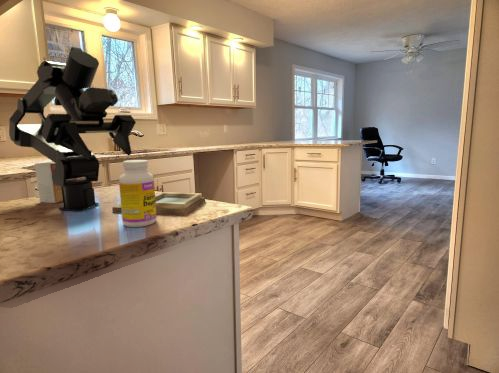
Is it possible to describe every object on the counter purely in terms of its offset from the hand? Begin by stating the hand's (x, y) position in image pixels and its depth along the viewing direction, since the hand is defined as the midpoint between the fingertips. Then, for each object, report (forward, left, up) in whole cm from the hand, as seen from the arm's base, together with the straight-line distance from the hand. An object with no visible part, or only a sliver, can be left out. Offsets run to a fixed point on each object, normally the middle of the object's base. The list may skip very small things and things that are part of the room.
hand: (111, 155), depth 67 cm
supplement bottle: (+7, -3, -14) cm, 16 cm away
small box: (-27, +13, -14) cm, 33 cm away
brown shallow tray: (+5, +10, -13) cm, 18 cm away
